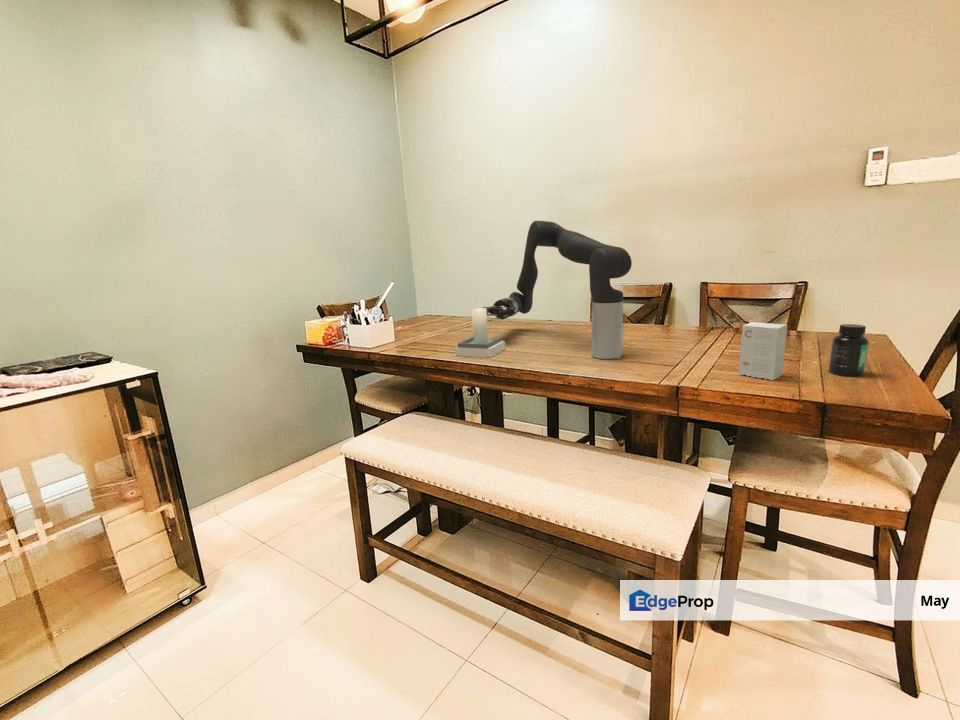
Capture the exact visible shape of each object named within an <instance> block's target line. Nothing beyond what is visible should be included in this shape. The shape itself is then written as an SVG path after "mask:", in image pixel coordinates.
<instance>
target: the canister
mask: <svg viewBox="0 0 960 720" xmlns="http://www.w3.org/2000/svg"><path fill="white" fill-rule="evenodd" d="M487 318H488V316H487V313H486V308H482V307H475V308H471V323H472V337H473V343H477V344H486V343H488V340H489V339H488V338H489V337H488V319H487Z"/></svg>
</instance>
